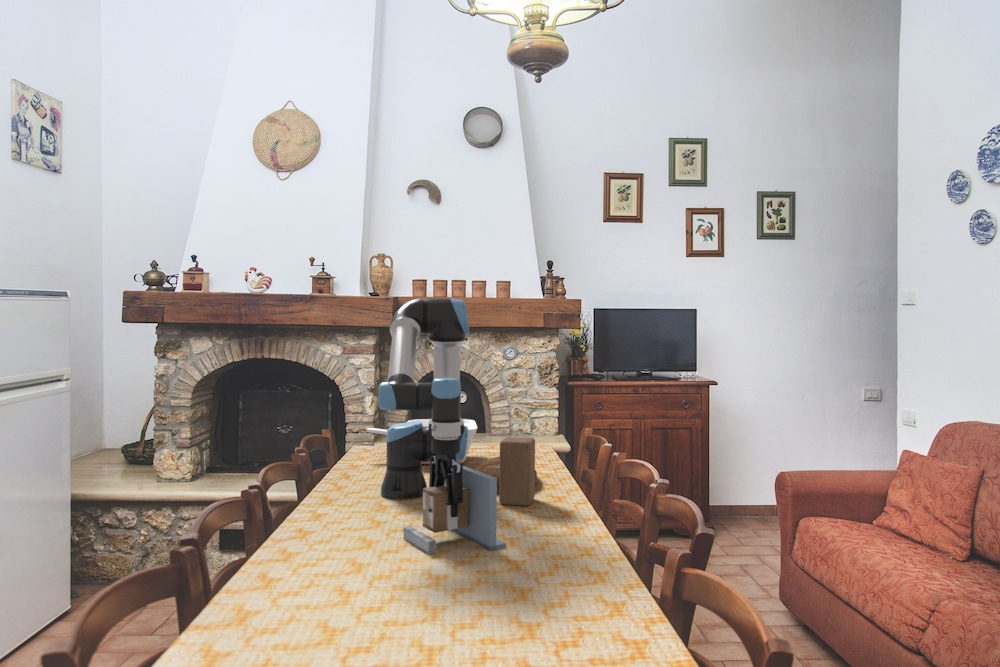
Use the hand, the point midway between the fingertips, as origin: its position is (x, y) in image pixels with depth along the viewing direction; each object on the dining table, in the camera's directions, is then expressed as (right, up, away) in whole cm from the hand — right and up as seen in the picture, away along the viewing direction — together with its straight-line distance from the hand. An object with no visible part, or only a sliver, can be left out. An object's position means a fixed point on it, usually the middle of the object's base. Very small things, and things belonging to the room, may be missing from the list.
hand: (445, 525), depth 174 cm
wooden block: (+20, -4, +38) cm, 43 cm away
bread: (+16, -3, +64) cm, 66 cm away
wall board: (+6, -4, +5) cm, 9 cm away
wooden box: (0, 0, 0) cm, 0 cm away
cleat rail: (-6, -4, -4) cm, 8 cm away
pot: (-18, -2, +98) cm, 100 cm away
